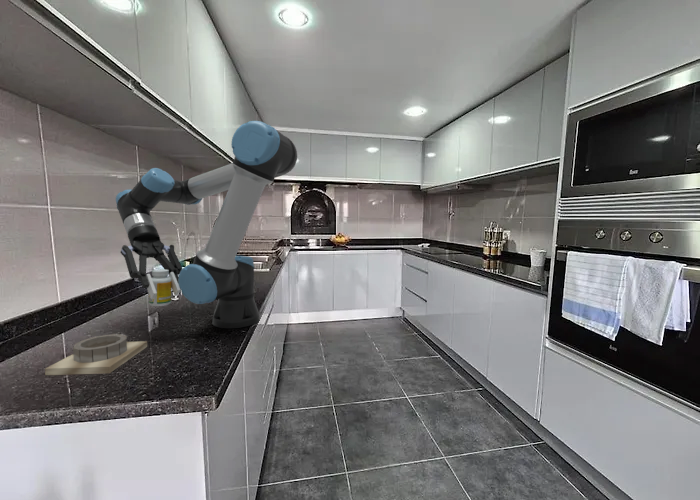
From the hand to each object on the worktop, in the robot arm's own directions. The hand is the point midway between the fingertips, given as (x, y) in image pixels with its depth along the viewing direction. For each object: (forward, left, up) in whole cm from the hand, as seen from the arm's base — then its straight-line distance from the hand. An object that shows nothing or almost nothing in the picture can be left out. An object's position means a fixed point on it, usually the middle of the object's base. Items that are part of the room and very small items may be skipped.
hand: (166, 294), depth 83 cm
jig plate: (+11, +9, -14) cm, 20 cm away
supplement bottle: (+3, -3, -4) cm, 5 cm away
